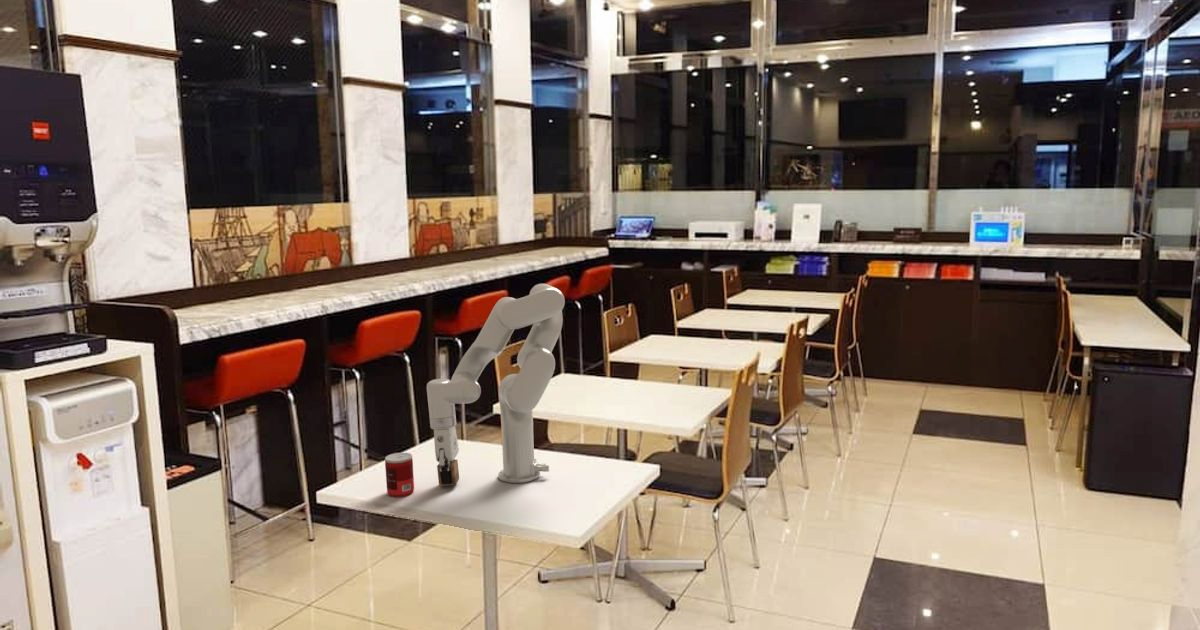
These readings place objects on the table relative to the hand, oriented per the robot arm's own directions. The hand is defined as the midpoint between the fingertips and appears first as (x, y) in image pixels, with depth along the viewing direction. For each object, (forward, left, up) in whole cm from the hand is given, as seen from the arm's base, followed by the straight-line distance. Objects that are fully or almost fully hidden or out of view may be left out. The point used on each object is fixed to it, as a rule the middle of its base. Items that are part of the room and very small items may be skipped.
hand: (449, 479), depth 255 cm
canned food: (+13, +5, -2) cm, 14 cm away
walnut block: (0, 0, -1) cm, 1 cm away
